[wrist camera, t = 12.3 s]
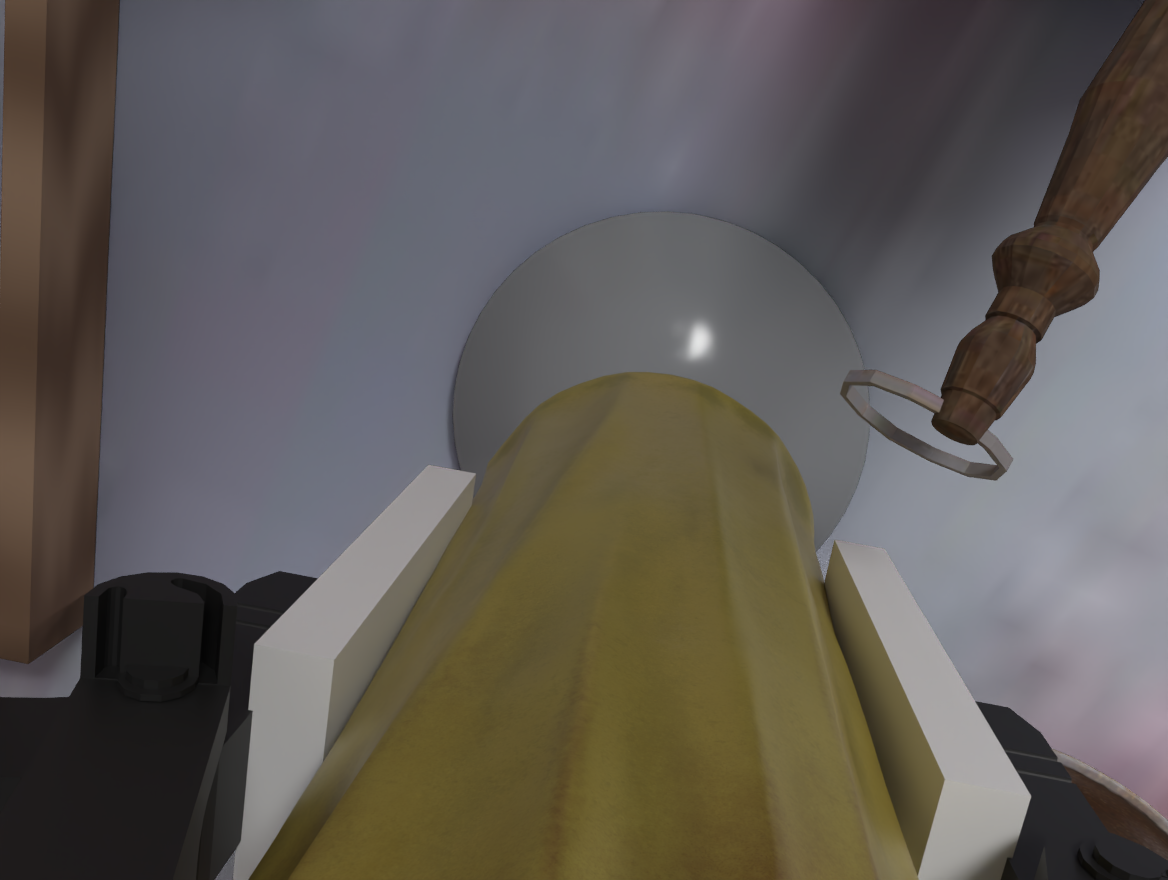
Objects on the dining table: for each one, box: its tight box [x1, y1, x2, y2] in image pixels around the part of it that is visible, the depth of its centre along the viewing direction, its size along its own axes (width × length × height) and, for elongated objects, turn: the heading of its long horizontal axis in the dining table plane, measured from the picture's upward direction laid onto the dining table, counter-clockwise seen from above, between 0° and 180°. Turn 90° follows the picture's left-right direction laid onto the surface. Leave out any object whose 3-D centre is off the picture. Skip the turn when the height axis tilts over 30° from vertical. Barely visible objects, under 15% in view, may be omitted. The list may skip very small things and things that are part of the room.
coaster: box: [453, 212, 870, 552], centre depth 27 cm, size 11×11×1 cm
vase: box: [248, 372, 919, 880], centre depth 11 cm, size 6×6×14 cm
